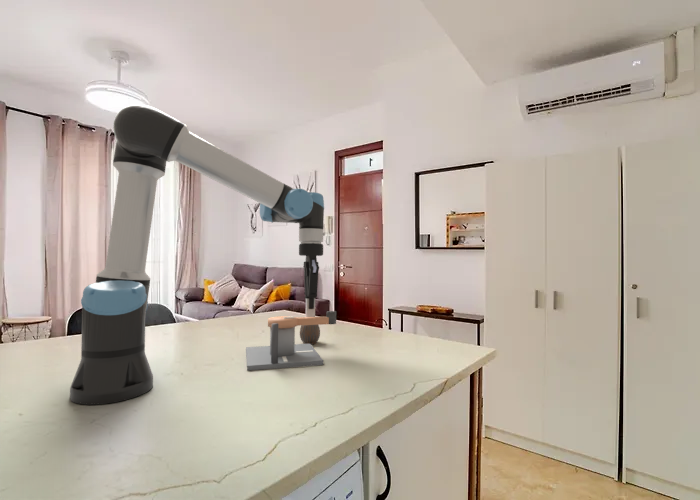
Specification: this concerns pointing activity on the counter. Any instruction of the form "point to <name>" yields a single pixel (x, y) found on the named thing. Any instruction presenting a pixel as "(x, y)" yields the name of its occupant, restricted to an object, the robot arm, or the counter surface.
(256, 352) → the post base
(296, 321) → the wooden cross piece
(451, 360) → the counter surface
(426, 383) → the counter surface
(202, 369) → the counter surface
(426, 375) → the counter surface
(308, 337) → the vase
